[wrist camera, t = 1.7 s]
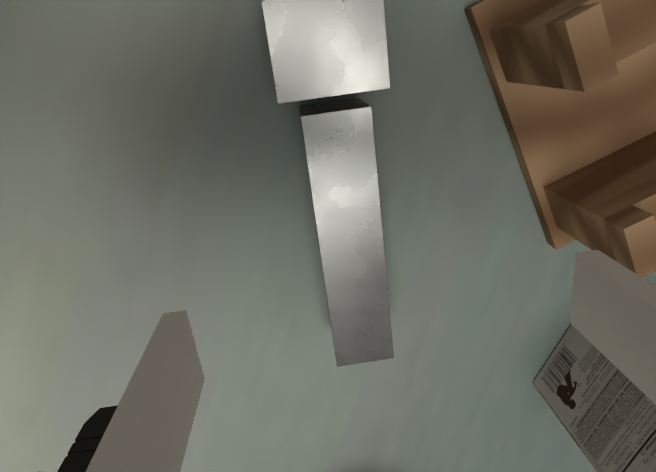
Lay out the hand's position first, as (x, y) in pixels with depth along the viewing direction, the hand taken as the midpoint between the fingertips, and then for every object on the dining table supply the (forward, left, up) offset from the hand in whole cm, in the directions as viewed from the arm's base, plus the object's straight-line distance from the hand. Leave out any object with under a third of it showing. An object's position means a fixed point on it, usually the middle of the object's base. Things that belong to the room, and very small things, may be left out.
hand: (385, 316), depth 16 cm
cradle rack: (+2, +15, -15) cm, 21 cm away
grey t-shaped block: (-1, 0, -15) cm, 15 cm away
